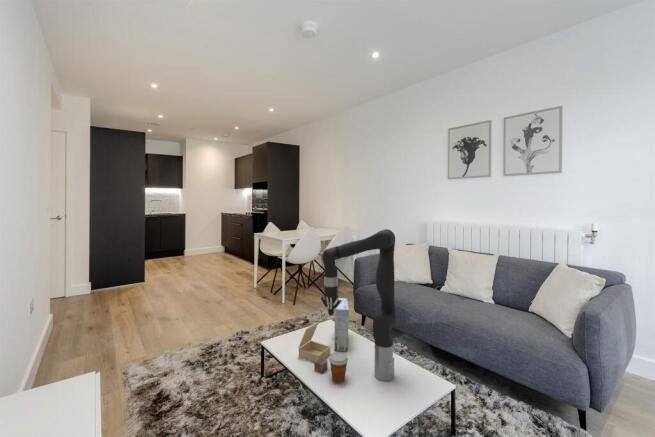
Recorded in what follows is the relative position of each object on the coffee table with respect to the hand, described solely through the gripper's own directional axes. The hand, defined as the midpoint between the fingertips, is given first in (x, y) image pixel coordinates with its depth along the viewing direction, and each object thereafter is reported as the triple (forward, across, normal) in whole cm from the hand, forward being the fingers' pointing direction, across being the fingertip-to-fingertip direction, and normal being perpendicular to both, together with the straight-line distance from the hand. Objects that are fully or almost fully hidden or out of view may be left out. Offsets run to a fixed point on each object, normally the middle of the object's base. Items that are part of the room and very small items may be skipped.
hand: (330, 315), depth 168 cm
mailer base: (+27, +11, 0) cm, 29 cm away
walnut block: (+27, 0, +10) cm, 29 cm away
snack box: (+27, +6, -22) cm, 35 cm away
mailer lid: (+15, +15, 0) cm, 21 cm away
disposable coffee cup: (+27, -12, +12) cm, 32 cm away
